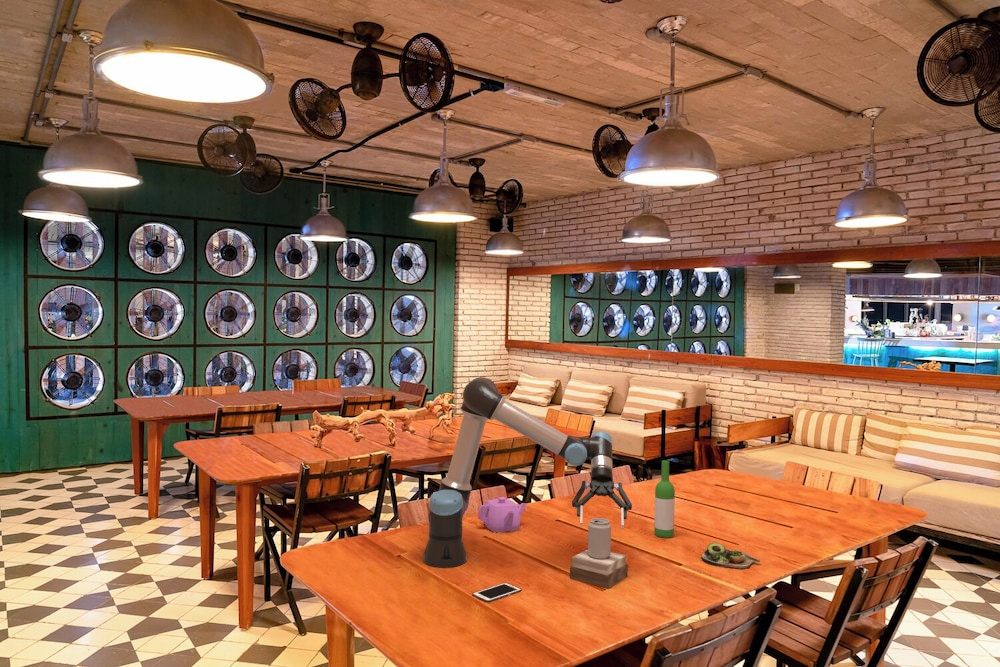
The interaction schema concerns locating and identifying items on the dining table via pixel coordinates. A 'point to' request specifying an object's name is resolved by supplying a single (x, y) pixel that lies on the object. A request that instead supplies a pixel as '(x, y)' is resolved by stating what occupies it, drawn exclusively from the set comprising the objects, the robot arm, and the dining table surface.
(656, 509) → the wine bottle
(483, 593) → the cell phone
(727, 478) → the dining table surface
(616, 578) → the plinth
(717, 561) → the salad plate
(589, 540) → the can
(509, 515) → the teakettle
